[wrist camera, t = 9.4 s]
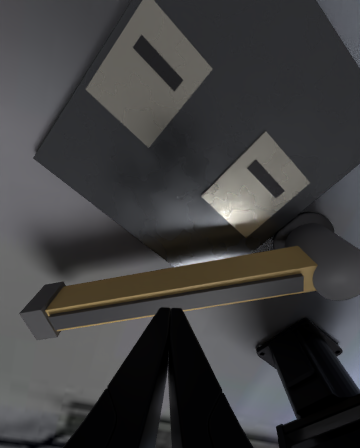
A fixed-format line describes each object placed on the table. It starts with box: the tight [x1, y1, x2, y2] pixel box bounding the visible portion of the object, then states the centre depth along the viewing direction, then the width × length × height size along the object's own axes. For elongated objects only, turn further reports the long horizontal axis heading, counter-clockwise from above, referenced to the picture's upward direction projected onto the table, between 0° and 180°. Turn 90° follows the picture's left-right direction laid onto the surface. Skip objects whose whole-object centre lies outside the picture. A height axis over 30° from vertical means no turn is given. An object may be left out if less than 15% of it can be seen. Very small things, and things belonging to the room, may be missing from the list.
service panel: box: [34, 0, 360, 267], centre depth 15 cm, size 22×18×1 cm
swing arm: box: [19, 223, 360, 340], centre depth 16 cm, size 23×4×4 cm, turn 102°
